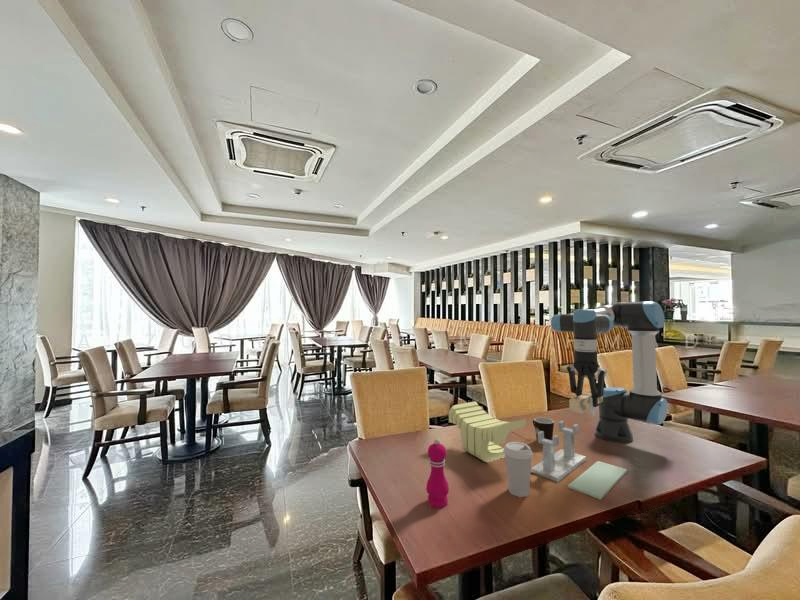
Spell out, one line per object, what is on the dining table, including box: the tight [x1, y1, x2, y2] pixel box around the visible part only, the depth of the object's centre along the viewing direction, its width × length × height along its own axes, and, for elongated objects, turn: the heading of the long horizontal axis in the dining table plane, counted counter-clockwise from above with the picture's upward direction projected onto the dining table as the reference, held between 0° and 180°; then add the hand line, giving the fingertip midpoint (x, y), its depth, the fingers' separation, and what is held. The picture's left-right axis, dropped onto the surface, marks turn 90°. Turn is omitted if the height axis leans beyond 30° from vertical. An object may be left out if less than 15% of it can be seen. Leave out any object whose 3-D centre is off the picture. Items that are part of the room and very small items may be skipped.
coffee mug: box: [532, 417, 555, 445], centre depth 156 cm, size 12×9×10 cm
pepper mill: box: [426, 438, 450, 509], centre depth 107 cm, size 7×7×20 cm
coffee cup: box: [503, 441, 534, 498], centre depth 112 cm, size 10×10×15 cm
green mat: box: [567, 460, 628, 501], centre depth 120 cm, size 28×10×1 cm, turn 131°
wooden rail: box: [568, 389, 603, 414], centre depth 123 cm, size 22×3×4 cm, turn 129°
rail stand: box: [530, 420, 587, 483], centre depth 131 cm, size 26×10×14 cm, turn 131°
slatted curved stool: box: [448, 401, 527, 463], centre depth 142 cm, size 30×16×18 cm, turn 28°
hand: (587, 414), depth 123 cm, fingers closed on wooden rail, 3 cm apart
